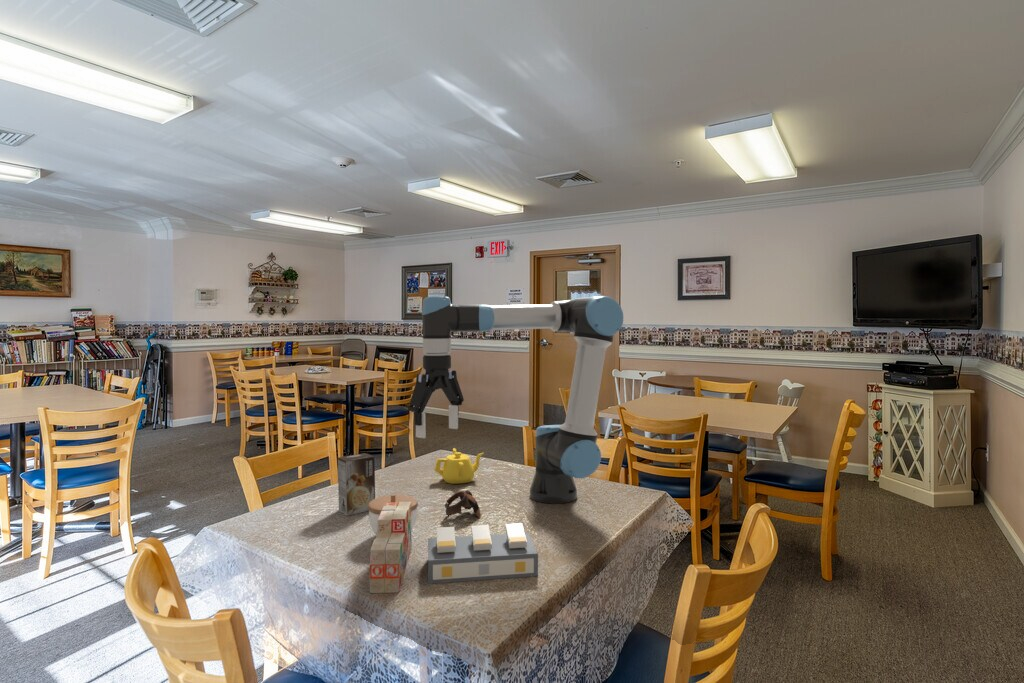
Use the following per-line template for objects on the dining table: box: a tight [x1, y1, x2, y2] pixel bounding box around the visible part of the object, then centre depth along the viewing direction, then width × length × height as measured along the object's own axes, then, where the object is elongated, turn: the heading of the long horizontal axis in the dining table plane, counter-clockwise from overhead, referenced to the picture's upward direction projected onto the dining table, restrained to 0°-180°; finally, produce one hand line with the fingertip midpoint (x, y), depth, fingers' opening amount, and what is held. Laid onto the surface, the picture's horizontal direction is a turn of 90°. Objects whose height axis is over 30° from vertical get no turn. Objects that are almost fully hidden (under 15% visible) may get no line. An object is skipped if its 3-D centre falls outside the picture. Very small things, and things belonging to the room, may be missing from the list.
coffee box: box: [337, 452, 376, 517], centre depth 160 cm, size 9×6×16 cm
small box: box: [504, 522, 527, 548], centre depth 124 cm, size 4×7×2 cm, turn 9°
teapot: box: [434, 447, 485, 485], centre depth 191 cm, size 14×13×10 cm
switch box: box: [427, 532, 539, 584], centre depth 123 cm, size 24×12×6 cm, turn 99°
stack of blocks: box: [369, 502, 413, 594], centre depth 121 cm, size 21×6×12 cm, turn 4°
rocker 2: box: [470, 524, 492, 551], centre depth 122 cm, size 4×7×2 cm, turn 9°
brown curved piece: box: [444, 490, 482, 520], centre depth 156 cm, size 12×10×8 cm
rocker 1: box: [436, 526, 456, 553], centre depth 121 cm, size 4×7×2 cm, turn 9°
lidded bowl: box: [368, 493, 419, 536], centre depth 140 cm, size 13×13×11 cm
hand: (437, 432), depth 145 cm, fingers open, 13 cm apart
